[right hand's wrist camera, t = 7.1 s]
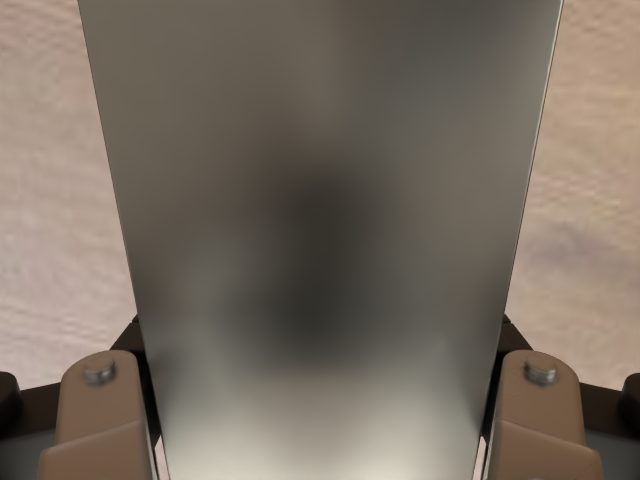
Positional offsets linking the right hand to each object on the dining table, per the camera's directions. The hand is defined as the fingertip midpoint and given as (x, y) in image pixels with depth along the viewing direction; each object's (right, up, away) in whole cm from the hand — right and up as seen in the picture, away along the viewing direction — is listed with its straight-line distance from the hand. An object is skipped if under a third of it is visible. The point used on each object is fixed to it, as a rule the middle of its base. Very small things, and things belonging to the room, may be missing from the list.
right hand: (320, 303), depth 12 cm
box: (0, +11, +2) cm, 11 cm away
